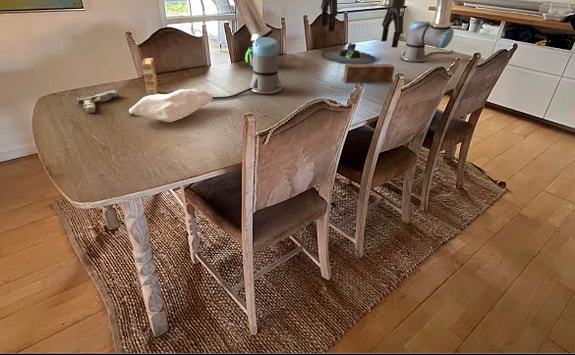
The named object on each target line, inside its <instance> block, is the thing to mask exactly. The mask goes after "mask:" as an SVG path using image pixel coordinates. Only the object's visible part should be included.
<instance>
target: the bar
mask: <svg viewBox="0 0 575 355" xmlns="http://www.w3.org/2000/svg"><path fill="white" fill-rule="evenodd" d="M394 72H395V65H393V64H391V63H371V64H370V63H356V64H355V63H348V64H344V71H343V78H342V80H343V81H344V83H347V84H349V83H351V84H353V83H355V84H356V83H391V82H392V81H393V77H394Z"/></svg>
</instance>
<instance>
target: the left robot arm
mask: <svg viewBox="0 0 575 355" xmlns="http://www.w3.org/2000/svg"><path fill="white" fill-rule="evenodd" d="M232 1H233V3H234V5H235V7H236V10H238V13H239V14H240V16H241V18H242V20H243V22H244V24H245V27H247V29H248V32H249V33H250V35H251V37H250V42H251V44H252V47H253V67H252V69H253V70H252V77H251V81H250V83H249V88H246V89H244V90H242V91H239V92H237V93H235V94H230V95H227V96H226V95H225V96H213V98H212V100H226V99H231V98H235V97H237V96H241V95H242V94H244V93H247V92H249V91H250V92H251V93H253V94H255V95H261V96H271V95H277V94H279V93H281V92H282V81H280V78H279V56H280V53H281V49H282V48H281V42H280V40H279V38H278V37H277V36H276V35H275V32H274V31H273V29H272V28H271V27H269V26H267V24H266V22H265V20H264V18H263V16H262V13H261V11H260V10H259V8H258V6H257V3H256V2H255V0H232ZM320 5H321V7H320V9H321V17H320V18H321V20H320V26H321V27H327V32H335V26H336V17H337V16H338V0H322V1H321V4H320ZM327 25H328V26H327ZM129 115H130V116H131V117H133V116H135V115H134V114H130V113H129Z"/></svg>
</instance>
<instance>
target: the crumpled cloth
mask: <svg viewBox="0 0 575 355" xmlns="http://www.w3.org/2000/svg"><path fill="white" fill-rule="evenodd" d="M213 97H214V96H213V94H212V93H210V92H208V91H206V90H203V89H201V88H187V89H186V88H185V89H184V88H183V89H177V90H175V91H173V92H171V93H167V94H163V93H158V94H156V95H150V96H148V95H146V96H144V97H142V98H141V99H140V100H139V101H138V102H137V103H136V104H134V105H133V106H132V107H131V108H129V115H130V114H134V115H133V116H140V117H145V118H146V119H149V120H152V121H155V120H158V121H163V122H166V123H174V122H176V121H178V120H181V119H183V118H185V117H188V116H190V115H192V114H193V113H195V112H196V111H197V110H199V109H200V108H202V107H204V106H206V105H207V104H210V102H211V101H212V100H213V99H212V98H213Z"/></svg>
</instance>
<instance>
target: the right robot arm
mask: <svg viewBox="0 0 575 355" xmlns="http://www.w3.org/2000/svg"><path fill="white" fill-rule="evenodd" d="M405 4H406V0H388V4H387V5H388V6H387V9H386V13H385V14H384V17H383V21H382V23H381V26H382V28H383V29H382V33H381V34H382V35H381V39H380V41H381V42H387V40H388V35H389V30H390V25H391V23H392V22H393V26H394V32H393V37H392V43H391V48H398V46H399V41H400V34H403V33H404V11H401V9H404V7H405ZM453 4H454V0H436V7H435V12H434V18H433V21H432V22H431V21H427V20H426V21H412V22H411V23H410V24H409V28H408V32H407V33H408V34H407V39H406V43H405V47H404V48H403V51H402V52H401V54H400V59H401V60H402V61H405V62H409V63H424V62H425V60H426V57H429V56H430V55H433V54H444V55H445V54H447V55H450V54H452V53H454V50H453V49H452V50H451V51H450V52H446V51H433V52H430V53H428V54H426V53H425V52H426V51H425V48H426V46H429V47H433V48H437V49H444V48H446V47H448V46H449V44H450V43H451V41H452V40H453V37H454V33H455V30H454V28H453V27H452V23H451V21H450V20H451V14H452V10H453Z"/></svg>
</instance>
